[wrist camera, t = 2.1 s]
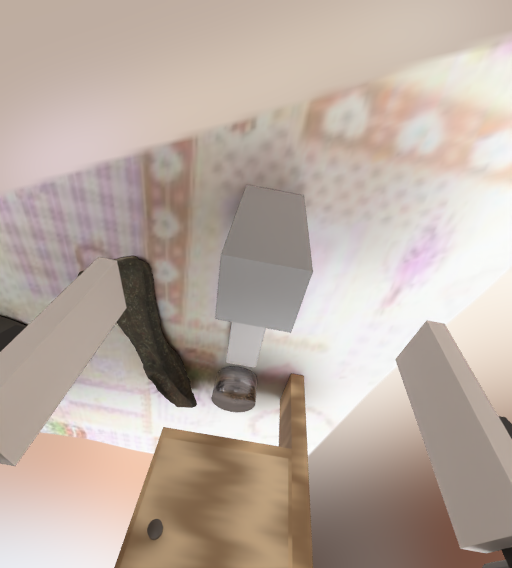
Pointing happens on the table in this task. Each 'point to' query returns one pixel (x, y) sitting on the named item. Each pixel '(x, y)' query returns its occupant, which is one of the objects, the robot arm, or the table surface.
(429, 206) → the table surface
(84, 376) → the table surface
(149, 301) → the tool
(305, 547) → the wall cabinet
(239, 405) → the grey short cylinder
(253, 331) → the gray stepped block
